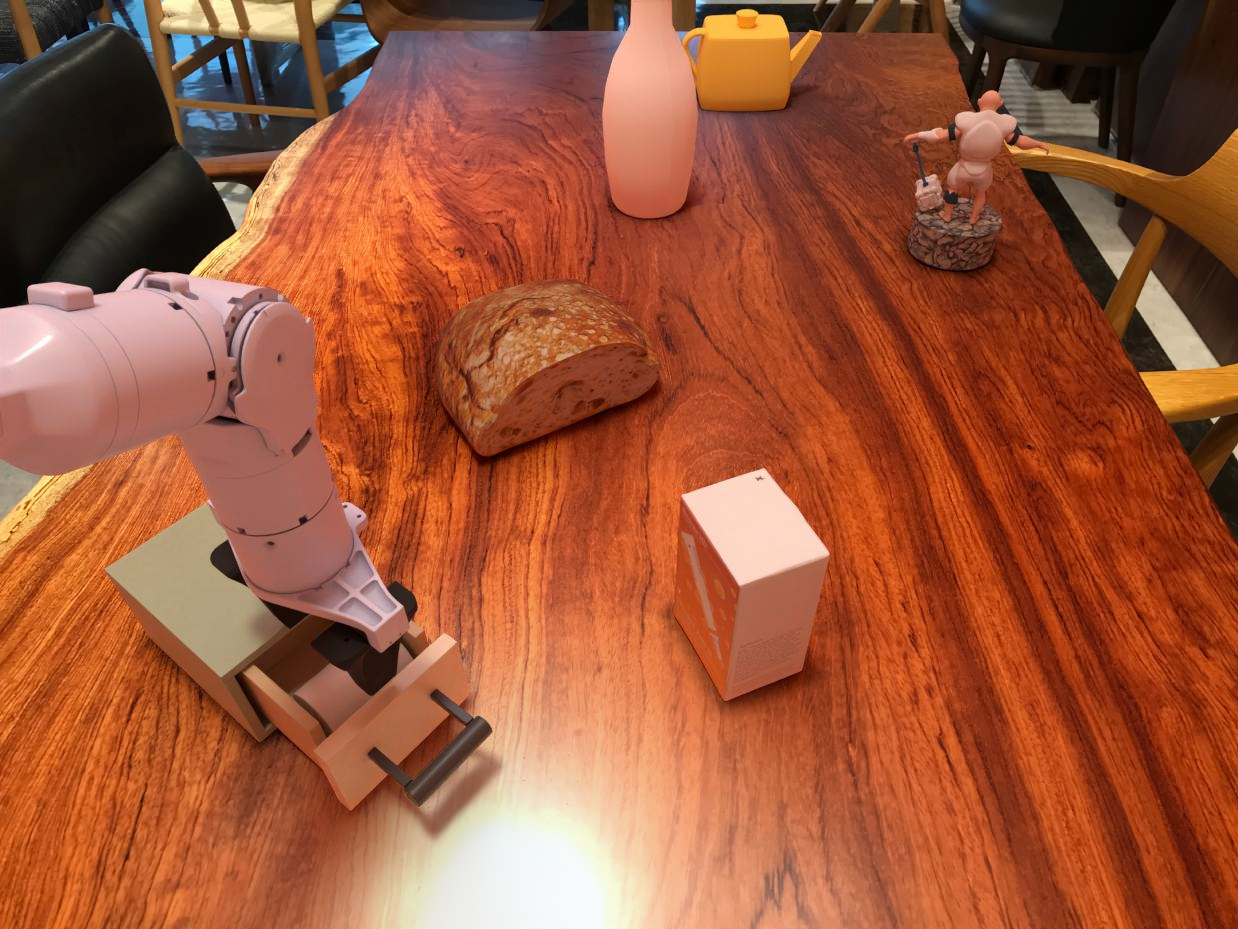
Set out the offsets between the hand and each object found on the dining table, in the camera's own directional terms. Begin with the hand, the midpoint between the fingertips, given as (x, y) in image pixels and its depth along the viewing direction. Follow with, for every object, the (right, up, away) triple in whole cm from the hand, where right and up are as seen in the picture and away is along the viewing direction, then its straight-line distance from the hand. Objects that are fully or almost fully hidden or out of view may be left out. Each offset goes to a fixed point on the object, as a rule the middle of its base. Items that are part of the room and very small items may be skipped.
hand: (339, 648), depth 54 cm
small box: (+25, -2, +9) cm, 27 cm away
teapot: (+36, +66, +79) cm, 109 cm away
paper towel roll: (-1, -1, +3) cm, 3 cm away
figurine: (+54, +35, +47) cm, 80 cm away
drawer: (+1, -5, +4) cm, 7 cm away
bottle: (+21, +44, +56) cm, 74 cm away
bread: (+10, +19, +31) cm, 38 cm away
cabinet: (-8, -1, +10) cm, 13 cm away
